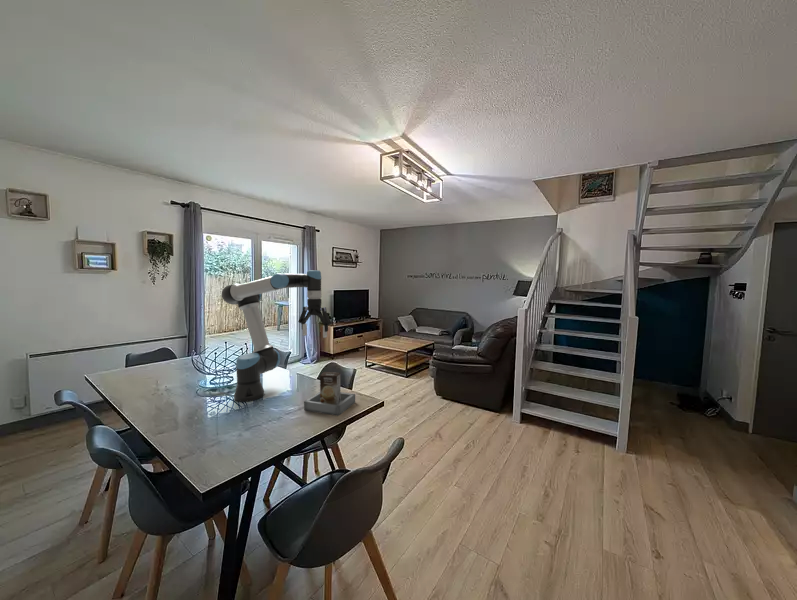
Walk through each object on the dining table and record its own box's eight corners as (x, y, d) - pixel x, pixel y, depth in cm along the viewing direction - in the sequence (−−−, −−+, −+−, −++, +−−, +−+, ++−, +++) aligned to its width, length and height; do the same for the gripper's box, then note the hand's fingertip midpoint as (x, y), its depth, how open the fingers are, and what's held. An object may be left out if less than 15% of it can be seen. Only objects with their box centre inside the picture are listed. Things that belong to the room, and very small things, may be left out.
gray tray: (304, 410, 152) (303, 401, 152) (323, 397, 168) (323, 389, 168) (338, 416, 145) (338, 406, 145) (355, 402, 161) (355, 394, 161)
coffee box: (319, 406, 154) (319, 375, 153) (324, 401, 160) (323, 371, 159) (337, 407, 153) (336, 376, 152) (341, 402, 159) (340, 372, 158)
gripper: (291, 297, 169) (292, 335, 170) (329, 299, 160) (329, 339, 161) (300, 297, 176) (301, 333, 177) (337, 298, 167) (337, 336, 168)
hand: (314, 336), depth 169 cm, fingers open, 13 cm apart
